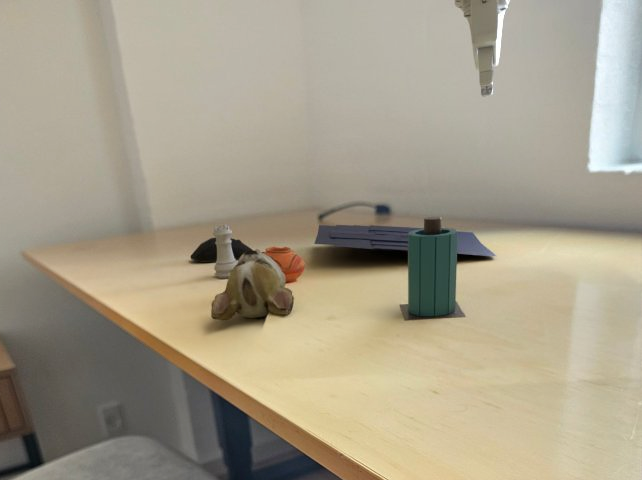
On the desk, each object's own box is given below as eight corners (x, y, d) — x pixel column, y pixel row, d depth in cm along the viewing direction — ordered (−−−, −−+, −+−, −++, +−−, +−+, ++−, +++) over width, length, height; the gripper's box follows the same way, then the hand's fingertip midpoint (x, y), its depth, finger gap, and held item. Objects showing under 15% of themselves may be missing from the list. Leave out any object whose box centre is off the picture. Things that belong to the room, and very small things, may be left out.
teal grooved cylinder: (450, 302, 81) (452, 226, 76) (458, 315, 76) (460, 234, 71) (406, 305, 81) (406, 229, 77) (410, 318, 76) (410, 237, 72)
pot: (260, 280, 104) (266, 237, 101) (306, 292, 103) (314, 249, 100) (241, 291, 98) (247, 245, 94) (290, 304, 96) (298, 258, 93)
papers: (318, 237, 130) (319, 218, 129) (470, 246, 129) (473, 227, 128) (312, 263, 109) (314, 240, 107) (494, 273, 108) (498, 250, 106)
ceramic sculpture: (294, 234, 90) (287, 263, 77) (300, 296, 94) (294, 333, 81) (217, 240, 90) (198, 270, 78) (227, 301, 95) (210, 339, 82)
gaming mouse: (269, 257, 123) (267, 235, 122) (190, 264, 122) (187, 242, 120) (267, 251, 129) (265, 230, 127) (191, 258, 128) (188, 237, 126)
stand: (456, 312, 82) (459, 211, 76) (465, 329, 76) (469, 220, 70) (399, 316, 82) (398, 215, 77) (404, 332, 76) (404, 225, 71)
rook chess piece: (225, 272, 114) (219, 224, 110) (246, 273, 112) (240, 224, 108) (209, 278, 111) (202, 228, 107) (230, 279, 109) (224, 229, 105)
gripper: (508, -44, 86) (509, 75, 91) (506, 1, 105) (506, 97, 109) (459, -33, 88) (462, 82, 92) (465, 9, 106) (467, 103, 111)
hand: (486, 91), depth 101 cm, fingers open, 8 cm apart
